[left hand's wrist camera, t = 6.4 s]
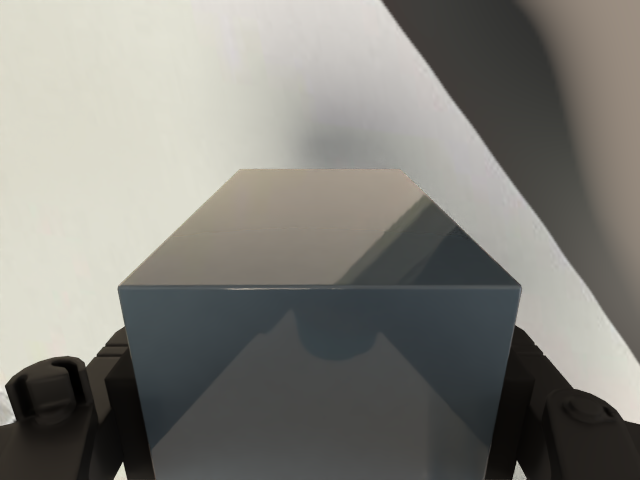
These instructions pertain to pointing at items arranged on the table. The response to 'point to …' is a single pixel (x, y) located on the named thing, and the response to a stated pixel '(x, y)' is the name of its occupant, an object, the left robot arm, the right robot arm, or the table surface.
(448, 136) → the table surface
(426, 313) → the block
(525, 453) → the left robot arm
